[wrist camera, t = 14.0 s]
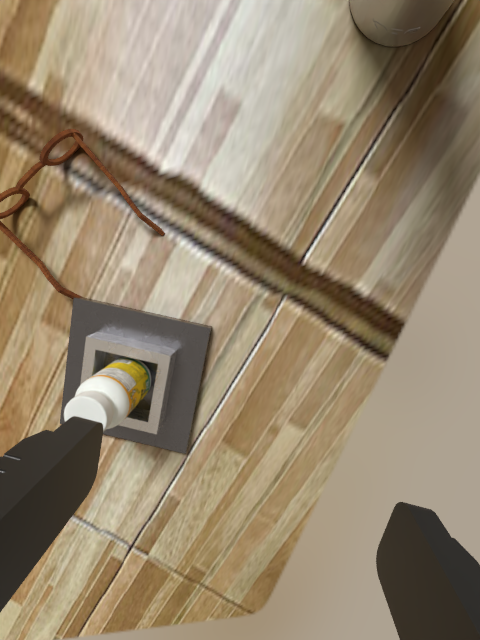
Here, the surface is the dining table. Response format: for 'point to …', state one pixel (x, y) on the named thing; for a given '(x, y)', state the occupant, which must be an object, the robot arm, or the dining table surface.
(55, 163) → the glasses
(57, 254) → the dining table surface
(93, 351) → the mount
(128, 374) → the supplement bottle
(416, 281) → the dining table surface
